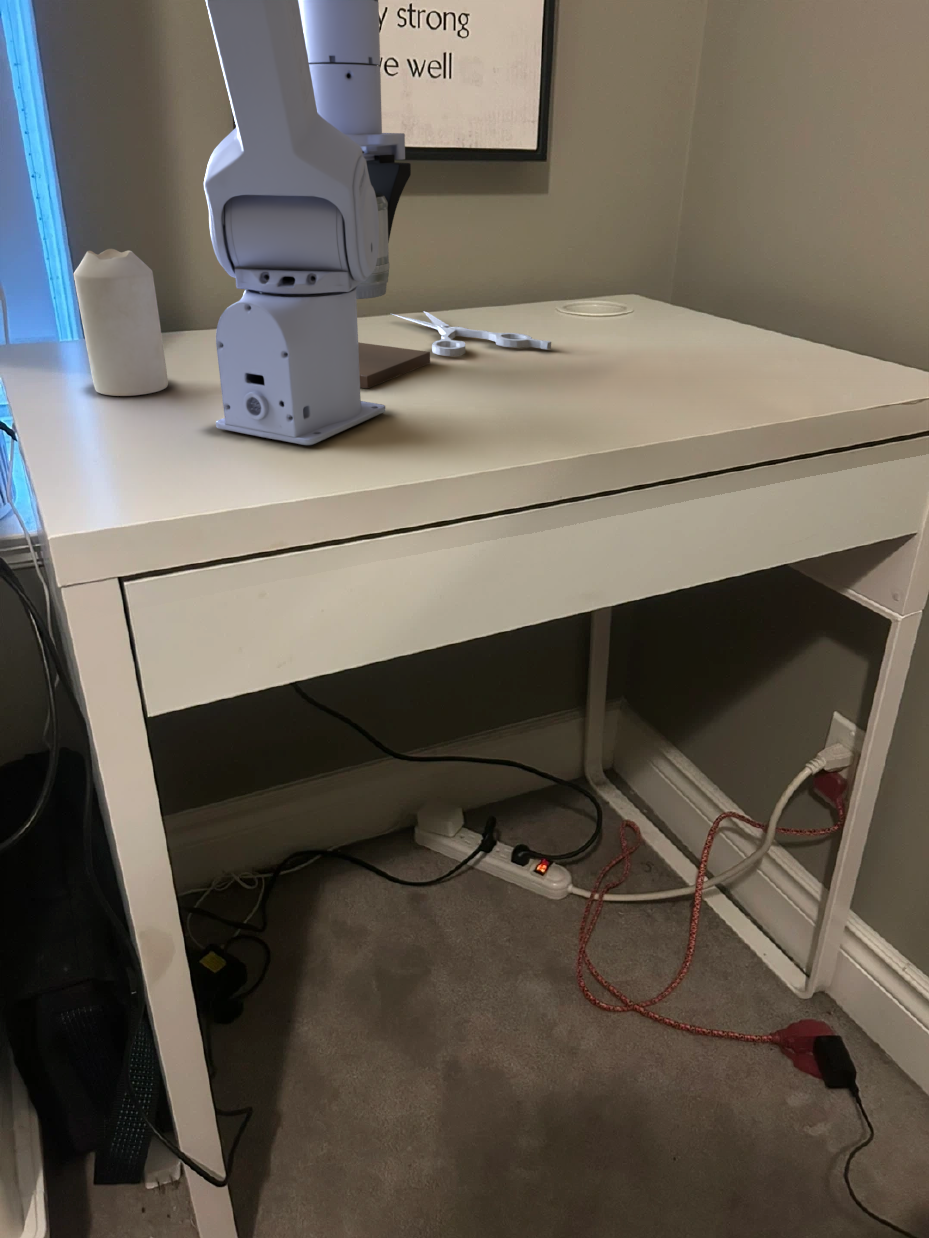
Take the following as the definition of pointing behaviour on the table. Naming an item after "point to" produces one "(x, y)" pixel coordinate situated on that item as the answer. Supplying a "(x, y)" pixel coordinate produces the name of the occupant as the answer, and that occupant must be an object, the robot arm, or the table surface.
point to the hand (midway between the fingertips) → (350, 262)
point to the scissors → (458, 347)
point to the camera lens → (379, 276)
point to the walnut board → (387, 363)
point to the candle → (121, 323)
